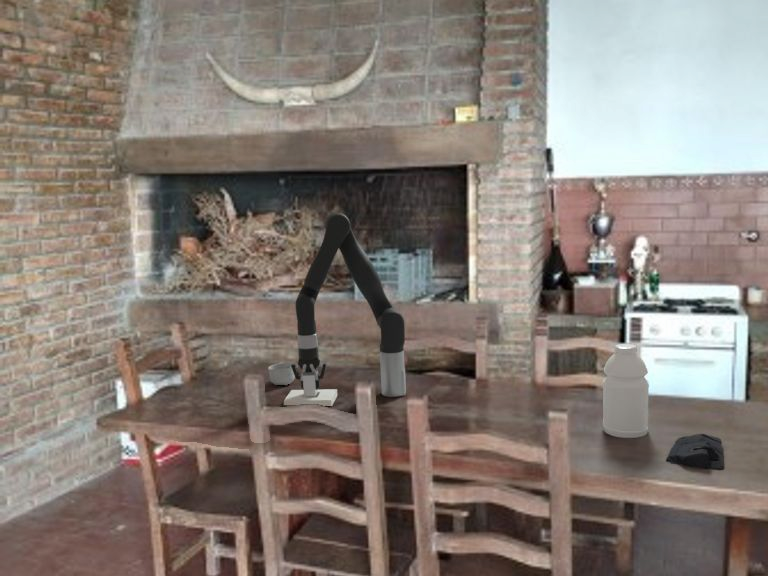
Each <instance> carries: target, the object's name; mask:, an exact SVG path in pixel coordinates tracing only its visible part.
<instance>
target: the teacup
mask: <svg viewBox="0 0 768 576" xmlns="http://www.w3.org/2000/svg"><path fill="white" fill-rule="evenodd" d="M293 363H294V362H282V361H281V362H278V363H274V364H271V365H269V366H268V368H267V370H268V374H269V380H270V382H271V383H272V384H273V385H275V386H276V385H285V386H288V384H289V385H291V384H292V382H293V381H294V380H295V379H296V378H295V375H294V372H293V370H292V367H291V365H292V364H293Z"/></svg>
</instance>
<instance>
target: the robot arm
mask: <svg viewBox="0 0 768 576" xmlns="http://www.w3.org/2000/svg"><path fill="white" fill-rule="evenodd" d="M324 227H325V232H324V236H323V239H322V242H321V245H320V247H319V250H318V251H317V254H316V255H315V257H314V258H313V260H312V263H311V264H310V267H309V269H308V271H307V274H306V276H305V279H304V282H303V285H302V287H301V288H300V291H299V293H298V295H297V298H296V300H295V314H296V320H297V323H296V324H297V327H296V329H297V351H298V353H297V354H298V361H297V362H292V363H293V364H292V365H291V367H292V370H293V372H294V375H295V379H296V380H298V381H299V380H300V387H301V390H304V389H303V372H315V383H316V390H319V389H320V387H321V383H320V382H321V381H320V380H321V379H323V378H325V374H326V370H327V366H328V363H327V362H322V361H321V359H319V345H318V344H319V343H318V342H319V341H318V336H317V335H318V334H317V324H316V322H317V321H316V319H315V315H316V314H315V305H316V301H317V298H318V296H319V293H320V291H321V289H322V288H323V286H324V283H325V281H326V278H327V276H328V274H329V272H330V268H331V266H332V263H333V261H334V259H335V257H336V254H337V253H338V250H339V252H340V254H341V256H342V258H343V261H344V263H345V265H346V268H347V270H348V272H349V273H350V276H351V278H352V280H353V282H354V283H355V285H356V287H357V289H358V290H359V291H360V293H361V295H362V296H363V298H364V299H365V300H366V302H367V303H368V306H369V307H370V309H371V312H372V314H373V316H374V319H375V321H376V325H377V326H378V327H379V329H380V344H379V360H380V361H379V362H380V364H379V365H380V379H381V380H380V382H381V383H380V384H381V394H382V396H383V397H389V398H394V397H395V398H396V397H403V396H406V392H407V384H406V368H405V348H404V346H405V339H406V337H405V334H406V333H405V330H406V329H405V320H404V317H403V315H402V314H401V313H400V312H398V310H396V309H395V308H394V306H393V305H392V303H391V302H390V300H389V298H387V295H386V293H385V291H384V288H383V284H382V281H381V278H380V276H379V274H378V271H377V269H376V268H375V266H374V263H372V261H371V259H370V258H369V256H368V255H367V253H366V252H365V250H364V249H363V247H361V245H360V244H359V242H358V240H357V238H356V236H355V235H354V233H353V230H352V227H351V222H350V219H349V218H348V217H347V216H346V215H345V214H343V213H341V212H336V211H335V212H332V213H330V214H329V215H328V216H327V217H326V219H325V221H324ZM319 366H320V368H321V372H320V374H319V371H318V367H319ZM299 367H300V369H301V374H300V372H299V369H298V368H299ZM315 370H316V371H315Z"/></svg>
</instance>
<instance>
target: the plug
mask: <svg viewBox="0 0 768 576" xmlns="http://www.w3.org/2000/svg"><path fill="white" fill-rule="evenodd" d="M315 371H316V370H315ZM303 389H304V396H316V394H317V393H318V390H319V389H318V390H316V383H315V372H303ZM303 389H302V390H303Z"/></svg>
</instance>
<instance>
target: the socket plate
mask: <svg viewBox="0 0 768 576" xmlns="http://www.w3.org/2000/svg"><path fill="white" fill-rule="evenodd" d="M337 397H338V389H337V388H335V389H334V388H333V389H332V388H331V389H330V388H329V389H326V388H325V389H318V393H317V394H316V396H304V390H303V389H291V390H290V392H289V393H288V395H287V396H286V397H285V398H284V400H283V406H284V405H300V404H319V405H323V406H332V407H333V405H334V403H335V401H336V399H337Z"/></svg>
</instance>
